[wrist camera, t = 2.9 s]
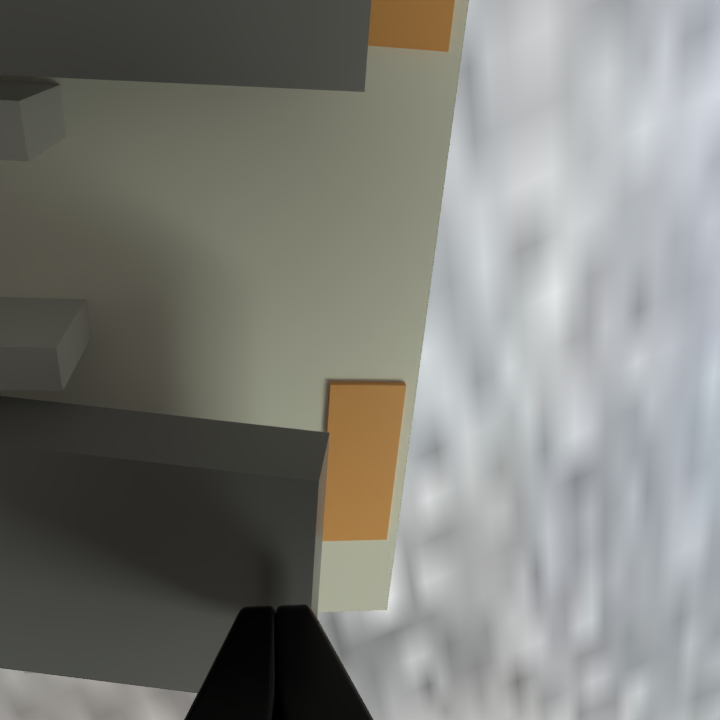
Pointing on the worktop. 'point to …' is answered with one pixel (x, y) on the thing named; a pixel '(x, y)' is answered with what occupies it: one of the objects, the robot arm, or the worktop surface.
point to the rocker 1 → (190, 41)
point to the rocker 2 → (148, 537)
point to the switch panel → (241, 259)
